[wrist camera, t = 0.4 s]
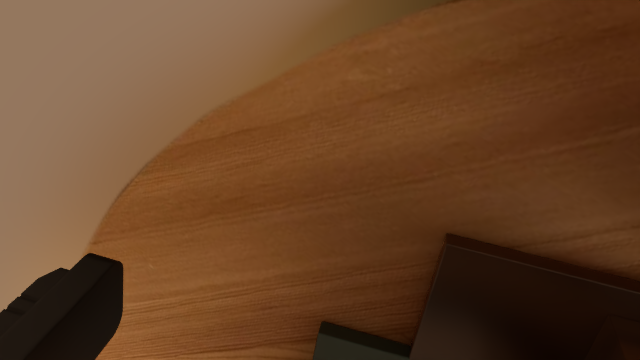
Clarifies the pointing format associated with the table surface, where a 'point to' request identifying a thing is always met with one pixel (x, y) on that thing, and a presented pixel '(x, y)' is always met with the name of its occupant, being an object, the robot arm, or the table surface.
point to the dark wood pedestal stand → (523, 308)
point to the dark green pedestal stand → (355, 345)
